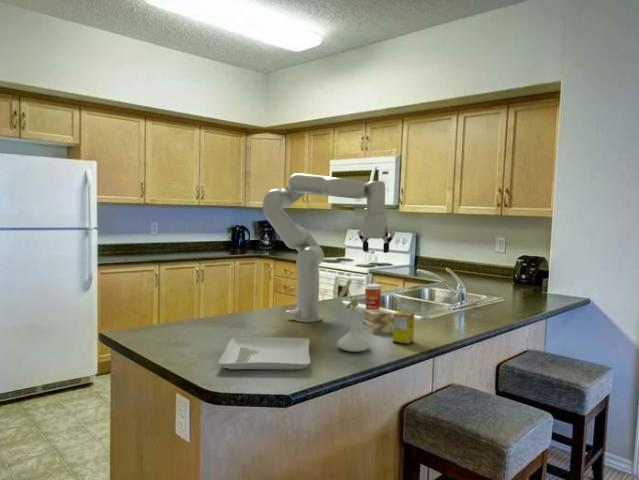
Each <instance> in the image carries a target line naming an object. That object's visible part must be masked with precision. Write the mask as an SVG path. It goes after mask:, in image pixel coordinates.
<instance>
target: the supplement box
mask: <svg viewBox="0 0 639 480" xmlns="http://www.w3.org/2000/svg"><path fill="white" fill-rule="evenodd" d="M414 332H415V312H411V311H410V312H409V311H402V310H398V311H397V312H394V313H393V331H392V343H393V344H397V345H398V344H399V345H405V346H410V344H412V343H413V342H414V338H415V337H414V335H415V333H414Z"/></svg>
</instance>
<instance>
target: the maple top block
mask: <svg viewBox="0 0 639 480" xmlns="http://www.w3.org/2000/svg"><path fill="white" fill-rule="evenodd" d="M363 311H364V314H363V315H364V317H363V319H364V320H366V321H368V322H369V323H371V324H386V323H392V313H391V312H389V311H388V310H385V309H383V308H379V309H372V310H366V309H364V310H363Z"/></svg>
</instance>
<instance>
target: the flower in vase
mask: <svg viewBox="0 0 639 480" xmlns="http://www.w3.org/2000/svg"><path fill="white" fill-rule="evenodd" d="M351 284H352V278H349V279H347V281H346V284H345V285H343V286H342V290H340V292H339V293H338V296H337V298H339V299H341V298H342V297H343V296H344V295H345V294H346V293H348V295H349V297H350V300H351V302H349V303H348V304H347V306H346V308H345V309H347V310H346V311H347V313H348V315H349V319H350V328H349V331H348V332H347V333H346V334H345V335H343V336H342V337H341V338H339V339H338V341H337V342H336V346H337V348H338V349H340V350H343V351H346V352H353V353H354V352H355V353H357V352H364V351H366V350H369V348H370V347H371V345H370V342H369V341H368V340H367V339H366V338H365V337H364V336H363V335H362V334H361V333H360V332H359V330H358V321H359V316H360V314H361V313H362V309H359V308H356V307H357V306H358V305H359V302H358V300H357V298H354V299H353V298H352V295H351V293H350V291H349V287H350V285H351ZM351 307H352V308H351Z"/></svg>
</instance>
